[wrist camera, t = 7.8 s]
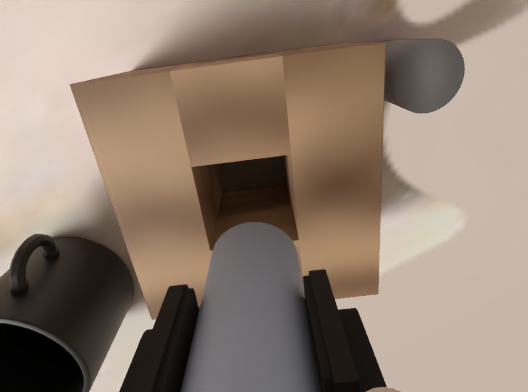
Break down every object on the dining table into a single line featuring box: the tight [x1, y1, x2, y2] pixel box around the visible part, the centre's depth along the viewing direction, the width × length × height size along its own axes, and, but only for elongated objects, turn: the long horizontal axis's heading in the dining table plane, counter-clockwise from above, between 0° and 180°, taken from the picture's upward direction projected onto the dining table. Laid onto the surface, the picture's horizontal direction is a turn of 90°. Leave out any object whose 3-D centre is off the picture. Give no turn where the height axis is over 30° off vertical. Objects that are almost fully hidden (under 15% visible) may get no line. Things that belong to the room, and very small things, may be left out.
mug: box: [0, 234, 134, 392], centre depth 24 cm, size 9×12×9 cm
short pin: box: [380, 39, 465, 113], centre depth 20 cm, size 4×4×6 cm
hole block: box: [70, 43, 385, 320], centre depth 21 cm, size 14×14×8 cm
